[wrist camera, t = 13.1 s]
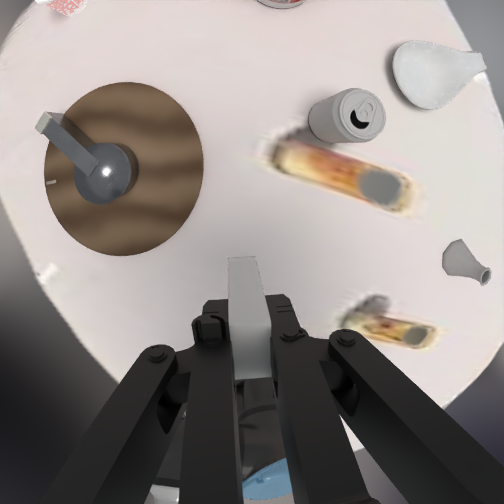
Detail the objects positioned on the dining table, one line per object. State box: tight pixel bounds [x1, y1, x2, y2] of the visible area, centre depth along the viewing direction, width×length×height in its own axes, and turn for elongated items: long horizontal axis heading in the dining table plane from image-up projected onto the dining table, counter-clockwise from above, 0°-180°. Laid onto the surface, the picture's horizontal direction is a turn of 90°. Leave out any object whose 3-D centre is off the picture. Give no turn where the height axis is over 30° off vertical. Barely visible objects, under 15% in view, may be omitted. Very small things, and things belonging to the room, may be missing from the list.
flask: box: [443, 239, 491, 286], centre depth 43 cm, size 7×7×10 cm
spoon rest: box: [392, 41, 487, 110], centre depth 32 cm, size 24×12×7 cm, turn 118°
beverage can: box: [309, 88, 386, 143], centre depth 33 cm, size 6×6×12 cm
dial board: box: [44, 82, 203, 256], centre depth 38 cm, size 26×26×1 cm
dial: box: [35, 112, 139, 205], centre depth 33 cm, size 17×8×6 cm, turn 46°
